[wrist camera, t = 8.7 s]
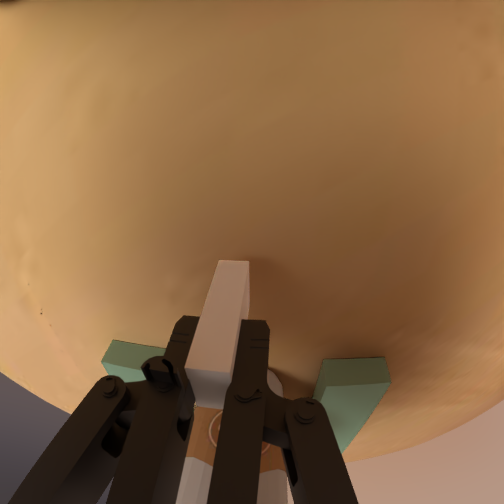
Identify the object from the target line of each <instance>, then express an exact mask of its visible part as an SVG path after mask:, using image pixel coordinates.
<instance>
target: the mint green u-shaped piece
mask: <svg viewBox="0 0 504 504" xmlns="http://www.w3.org/2000/svg"><path fill="white" fill-rule="evenodd" d="M165 350H166V349H164V348H157V347H151V346H144V345H138V344H133V343H127V342H122V341H116V340H112V342H111V344H110V346H109V348H108V350H107V351H106V353H105V355H104V357H103V359H102V361H101V362H102V364H103V366H104V368H105V369H106V371H107V373H108V374H109V375H115V376H119V377H120V378H121V379H123V380H124V382H135V381H142V380H146V378H145V376H144V374H143V372H142V370H141V368H140V367H141V366H142V364H143V363H144V362H145V361H146V360H148V359H149V358H151V357H154V356H163V355H164V353H165ZM390 384H391V378H390V374H389V371H388V367H387V364H386V360H385V357H377V358H358V359H323V363H322V367H321V370H320V374H319V377H318V380H317V384H316V387H315V390H314V393H313V397H312V399H316V400H317V401H319V402H320V403H321V404H322V405H323V406H324V408H325V410H326V412H327V415H328V418H329V421H330V424H331V426H332V429H333V432H334V435H335V438H336V440H337V443H338V446H339V449H340V452H341V454H342V453H343V451H344V450H345V449H346V448H347V446H348V445H349V444H350V443H351V441H352V440H353V439H354V437H355V436H356V435H357V433H358V432H359V431H360V429H361V428H362V426H363V425H364V424H365V422H366V421H367V419H368V418H369V417H370V415H371V414H372V412H373V411H374V409H375V408H376V406H377V405H378V403H379V402H380V400H381V399H382V397H383V395H384V394H385V392H386V391H387V389H388V387H389V386H390ZM193 412H194V410H193Z"/></svg>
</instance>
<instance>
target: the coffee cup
mask: <svg viewBox="0 0 504 504" xmlns="http://www.w3.org/2000/svg"><path fill="white" fill-rule="evenodd" d="M267 383H268V385H269V388H270V389H271V390H272V391H273V392H274V393H275V394H277V395H278V396H281V397H283V388H282V384H281V383H280V381H279V380H278V377H277V376H276V375H275V374H274V373H273V372H272V371H270V370H269V369H268V372H267ZM222 412H223V409H215V408H207V407H199V406H197V407H196V408H195V410H194V422H193V427H192V431H191V435H190V440H189V444H188V449H187V453H186V458H185V463H184V467H183V472H182V476H181V481H180V486H179V490H178V495H177V500H176V504H207V498H208V492H209V486H210V481H211V475H212V469H213V463H214V458H215V452H216V446H217V440H218V435H219V429H220V423H221V418H222ZM257 504H288V500H287V473H286V469H285V465H284V461H283V457H282V453H281V448H280V447H278V446H275V445H272V444H269V443H266V442H262V454H261V465H260V476H259V487H258V497H257Z"/></svg>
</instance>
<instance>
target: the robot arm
mask: <svg viewBox="0 0 504 504" xmlns="http://www.w3.org/2000/svg"><path fill="white" fill-rule="evenodd" d="M249 305H250V288H249V261H236V260H219V261H218V264H217V267H216V270H215V273H214V276H213V279H212V282H211V285H210V288H209V291H208V294H207V297H206V300H205V303H204V307H203V310H202V313H201V316H200V317H196V316H185V315H184V316H183V317H182V318H181V319H180V320H179V321H178V322H177V323H176V324H175V327H174V329H173V332H172V335H171V337H170V341H169V342H168V345H167V348H166V350H165V353H164V355H163V356H154V357H151V358H149V359H148V360H146V361H145V362H144V363H143V364H142V366H141V367H140V368H141V370H142V372H143V374H144V376H145V378H146V380H142V381H135V382H124V380H123V379H121V378H120V377H119V376H115V375H107V376H105V377H102V378H101V379H100V380H99V381H97V383H96V384H95V385H94V386H93V388H92V389H91V390H90V391H89V393H88V394H87V395H86V397H85V398H84V399H83V400H82V402H81V403H80V404H79V406H78V407H77V408H76V409H75V411H74V412H73V413H72V415H71V416H70V417H69V419H68V420H67V422H65V424H64V425H63V426H62V428H61V429H60V430H59V432H58V433H57V435H56V436H55V437H54V439H53V440H52V441H51V443H50V444H49V445H48V447H47V448H46V450H45V451H44V452H43V454H42V455H41V456H40V458H39V459H38V461H37V462H36V463H35V465H34V466H33V467H32V469H31V470H30V472H29V473H28V475H27V476H26V477H25V479H24V480H23V482H22V483H21V485H20V486H19V488H18V489H17V491H16V492H15V494H14V495H13V497H12V498H11V500H10V501H9V503H8V504H96V503H97V502H98V500H99V499H100V497H101V495H102V494H103V492H104V491H105V489H106V488H107V486H108V484H109V483H110V481H111V480H112V478H113V477H114V479H113V481H112V485H111V488H110V491H109V495H108V498H107V502H106V504H176V500H177V495H178V490H179V486H180V481H181V476H182V472H183V467H184V463H185V458H186V453H187V449H188V444H189V440H190V435H191V431H192V427H193V422H194V412H193V407H194V403H195V402H196V405H197V406H199V407H207V408H215V409H223V412H222V418H221V423H220V429H219V435H218V440H217V446H216V452H215V458H214V463H213V469H212V475H211V481H210V486H209V492H208V498H207V504H257V497H258V487H259V476H260V465H261V454H262V442H266V443H269V444H272V445H275V446H278V447H280V448H281V453H282V457H283V461H284V465H285V469H286V473H287V477H288V481H289V485H290V489H291V493H292V497H293V500H294V504H358V501H357V498H356V495H355V492H354V489H353V486H352V484H351V480H350V478H349V475H348V472H347V469H346V466H345V463H344V460H343V457H342V454H341V452H340V449H339V446H338V443H337V440H336V438H335V435H334V432H333V429H332V426H331V424H330V421H329V418H328V415H327V412H326V410H325V408H324V406H323V405H322V404H321V403H320V402H319V401H317V400H316V399H312V398H309V397H307V398H299V399H296V400H294V401H292V400H289V399H286V398H283V397H281V396H278V395H277V394H275V393H274V392H273V391H272V390H271V389H270V388H269V385H268V383H267V372H268V355H269V337H270V329H269V327H268V325H267V323H266V321H265V320H248V312H249Z"/></svg>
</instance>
